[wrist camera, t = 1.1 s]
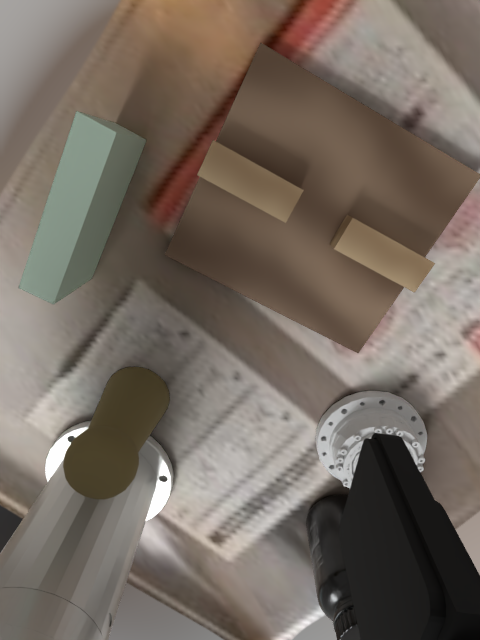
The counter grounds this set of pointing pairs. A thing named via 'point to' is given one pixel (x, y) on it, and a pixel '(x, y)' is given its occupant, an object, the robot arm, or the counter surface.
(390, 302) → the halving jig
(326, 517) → the supplement bottle
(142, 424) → the cork
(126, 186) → the sage plate
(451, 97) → the counter surface
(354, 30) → the counter surface
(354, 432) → the mechanical component
